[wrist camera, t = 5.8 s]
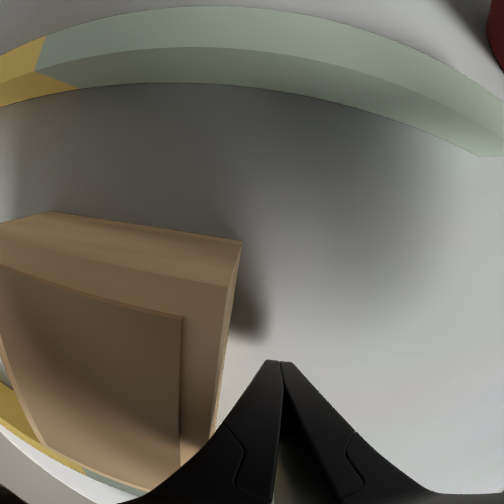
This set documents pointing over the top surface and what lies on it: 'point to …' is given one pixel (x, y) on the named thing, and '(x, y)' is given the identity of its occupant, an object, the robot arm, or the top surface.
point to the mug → (496, 30)
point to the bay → (250, 85)
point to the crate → (116, 339)
